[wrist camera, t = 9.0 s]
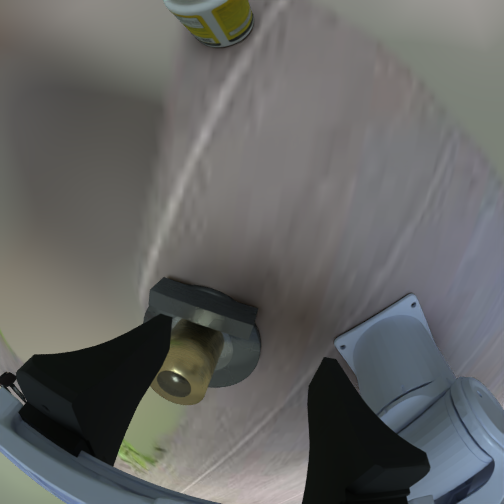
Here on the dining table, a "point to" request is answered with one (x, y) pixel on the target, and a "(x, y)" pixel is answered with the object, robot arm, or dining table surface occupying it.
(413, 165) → the dining table surface
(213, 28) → the supplement bottle
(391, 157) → the dining table surface
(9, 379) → the sunglasses
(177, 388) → the cylinder
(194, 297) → the flange seat
